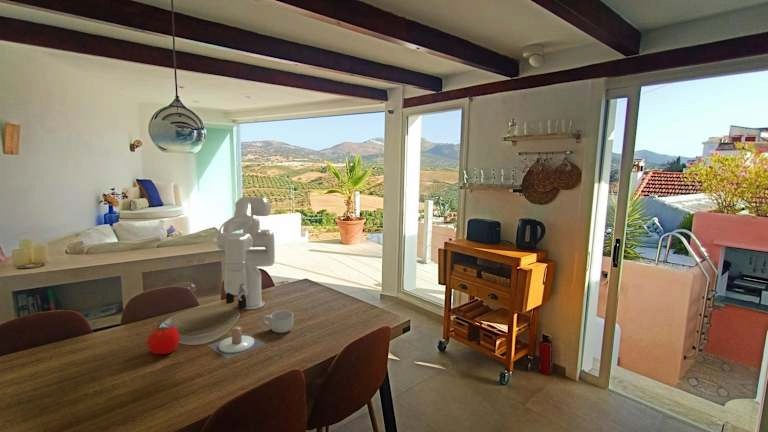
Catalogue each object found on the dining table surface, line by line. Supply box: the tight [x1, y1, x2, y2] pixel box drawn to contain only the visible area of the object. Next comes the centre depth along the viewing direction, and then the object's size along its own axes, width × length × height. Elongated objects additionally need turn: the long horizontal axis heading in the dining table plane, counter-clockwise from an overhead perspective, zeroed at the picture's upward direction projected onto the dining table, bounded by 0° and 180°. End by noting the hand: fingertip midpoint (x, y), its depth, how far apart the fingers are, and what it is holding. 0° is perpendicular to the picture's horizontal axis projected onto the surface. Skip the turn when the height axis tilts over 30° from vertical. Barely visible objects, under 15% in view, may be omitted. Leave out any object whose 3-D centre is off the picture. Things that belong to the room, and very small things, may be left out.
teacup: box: [262, 309, 295, 334], centre depth 172 cm, size 14×11×8 cm
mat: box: [207, 332, 266, 360], centre depth 156 cm, size 17×17×1 cm
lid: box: [219, 325, 254, 353], centre depth 155 cm, size 14×14×8 cm
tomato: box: [146, 325, 180, 355], centre depth 149 cm, size 12×12×10 cm
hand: (236, 305), depth 154 cm, fingers open, 9 cm apart
